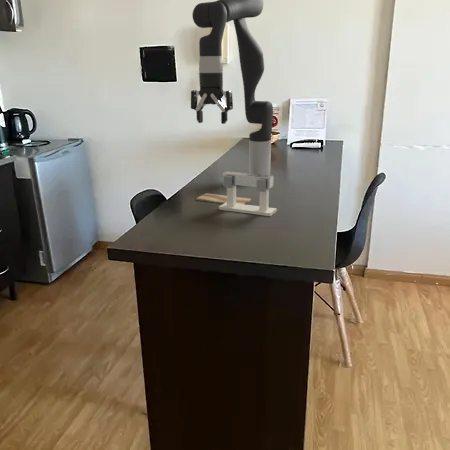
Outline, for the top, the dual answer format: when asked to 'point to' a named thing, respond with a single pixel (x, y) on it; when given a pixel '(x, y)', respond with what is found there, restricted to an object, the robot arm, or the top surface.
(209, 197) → the mat
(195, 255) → the top surface
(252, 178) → the rail
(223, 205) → the rail stand
